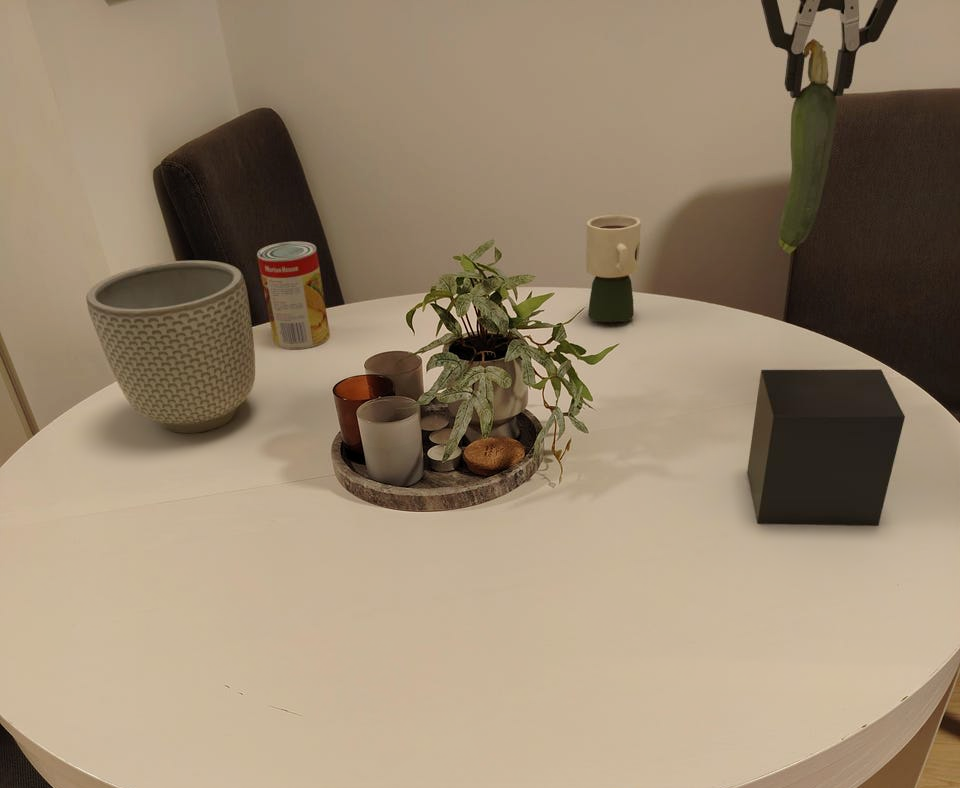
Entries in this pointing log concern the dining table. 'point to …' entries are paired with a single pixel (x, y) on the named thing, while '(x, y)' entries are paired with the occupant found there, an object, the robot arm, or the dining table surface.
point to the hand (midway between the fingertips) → (816, 94)
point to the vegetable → (808, 150)
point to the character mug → (612, 265)
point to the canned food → (294, 294)
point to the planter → (178, 340)
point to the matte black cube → (823, 446)
